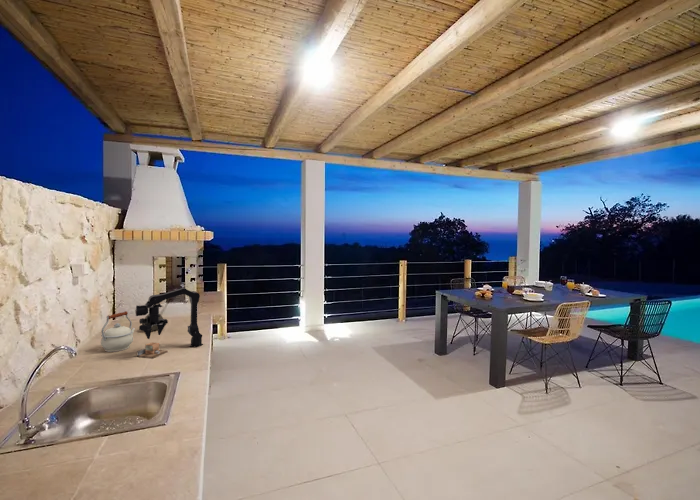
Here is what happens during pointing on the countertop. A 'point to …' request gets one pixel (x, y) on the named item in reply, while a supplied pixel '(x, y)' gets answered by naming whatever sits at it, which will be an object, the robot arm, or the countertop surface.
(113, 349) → the kettle
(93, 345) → the countertop surface
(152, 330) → the cantaloupe
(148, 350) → the tan cube
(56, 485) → the countertop surface
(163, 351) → the board
